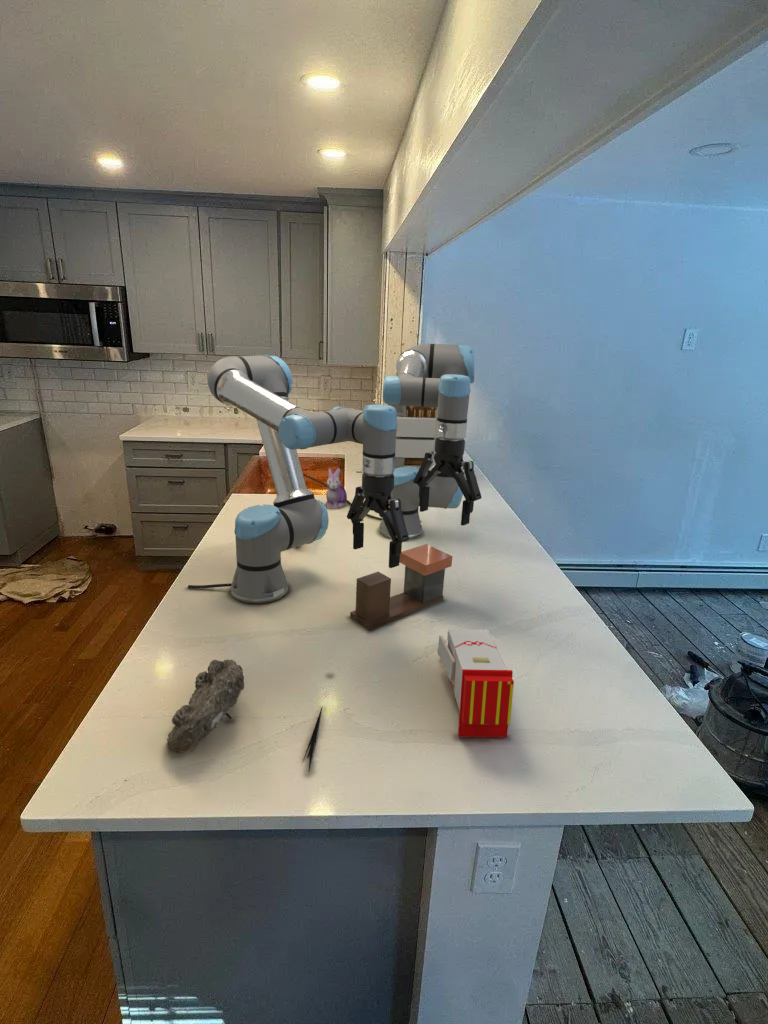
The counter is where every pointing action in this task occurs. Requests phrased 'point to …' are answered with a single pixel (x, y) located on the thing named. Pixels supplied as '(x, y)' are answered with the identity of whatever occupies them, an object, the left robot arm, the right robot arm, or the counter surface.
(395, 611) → the brown wooden desk organizer
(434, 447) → the right robot arm
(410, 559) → the glossy orange tile
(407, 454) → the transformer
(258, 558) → the left robot arm
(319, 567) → the counter surface
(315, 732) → the feather
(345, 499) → the figurine
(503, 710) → the toy
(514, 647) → the counter surface
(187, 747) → the fossil
